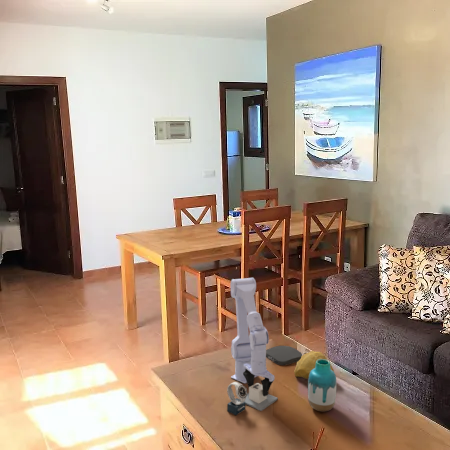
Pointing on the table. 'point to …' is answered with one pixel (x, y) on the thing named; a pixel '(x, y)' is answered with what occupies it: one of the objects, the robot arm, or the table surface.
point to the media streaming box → (283, 355)
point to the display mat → (262, 404)
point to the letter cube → (256, 393)
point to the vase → (322, 386)
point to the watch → (236, 404)
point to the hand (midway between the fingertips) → (258, 391)
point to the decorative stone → (308, 364)
